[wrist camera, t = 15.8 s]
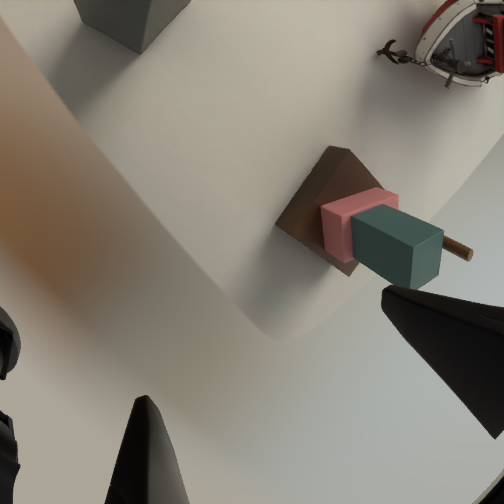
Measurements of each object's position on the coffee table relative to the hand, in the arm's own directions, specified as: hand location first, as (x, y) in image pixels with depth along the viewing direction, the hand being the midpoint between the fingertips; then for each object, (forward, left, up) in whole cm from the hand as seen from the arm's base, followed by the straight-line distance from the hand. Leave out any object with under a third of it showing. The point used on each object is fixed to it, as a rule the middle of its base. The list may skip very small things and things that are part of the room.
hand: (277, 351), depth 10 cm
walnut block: (+7, -9, -13) cm, 17 cm away
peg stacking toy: (+7, -9, -10) cm, 16 cm away
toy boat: (+33, -10, -13) cm, 37 cm away
